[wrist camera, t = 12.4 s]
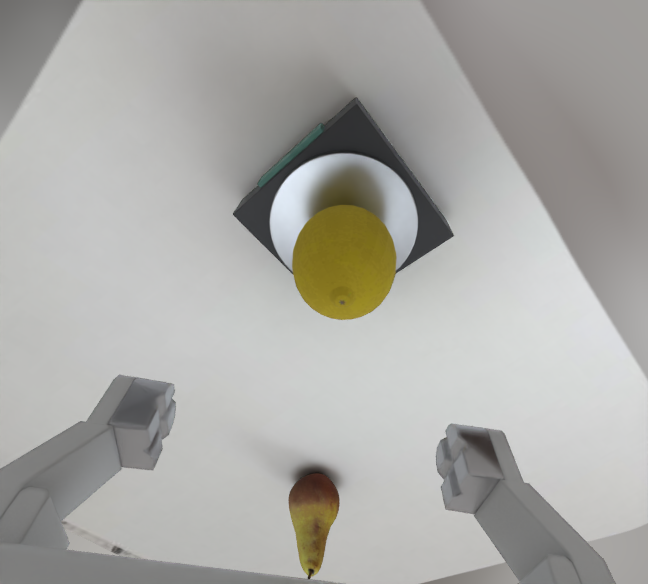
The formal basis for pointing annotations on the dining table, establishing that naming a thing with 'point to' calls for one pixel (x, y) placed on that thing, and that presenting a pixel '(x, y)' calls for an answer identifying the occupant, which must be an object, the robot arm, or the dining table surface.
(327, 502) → the fruit
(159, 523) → the dining table surface
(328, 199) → the scale pan
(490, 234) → the dining table surface
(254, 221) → the scale
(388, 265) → the lemon
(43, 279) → the dining table surface
